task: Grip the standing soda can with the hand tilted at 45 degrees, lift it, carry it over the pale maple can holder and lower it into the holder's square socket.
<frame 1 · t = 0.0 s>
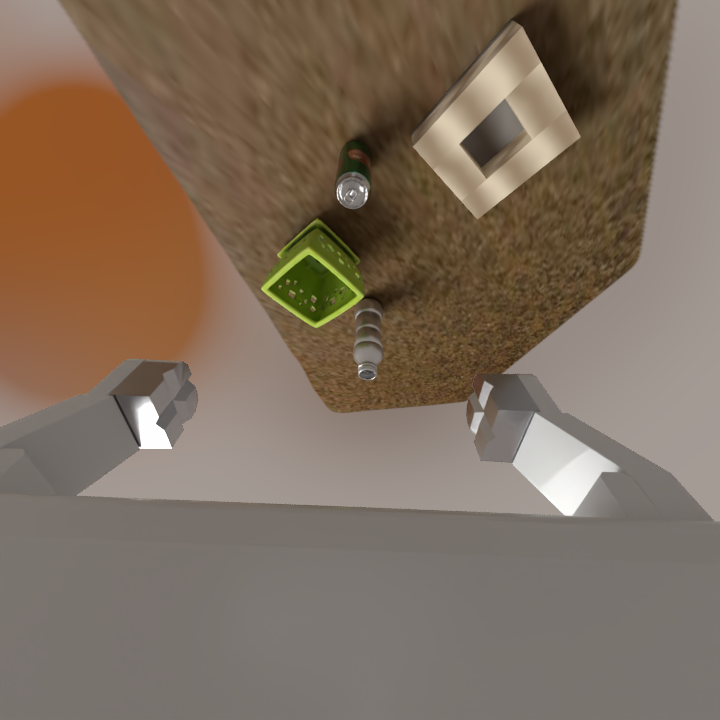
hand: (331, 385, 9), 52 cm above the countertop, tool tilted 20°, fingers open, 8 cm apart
can holder: (487, 128, 48), on the countertop
flower pot: (320, 251, 66), on the countertop
soda can: (356, 156, 52), on the countertop
plastic bottle: (369, 304, 77), on the countertop
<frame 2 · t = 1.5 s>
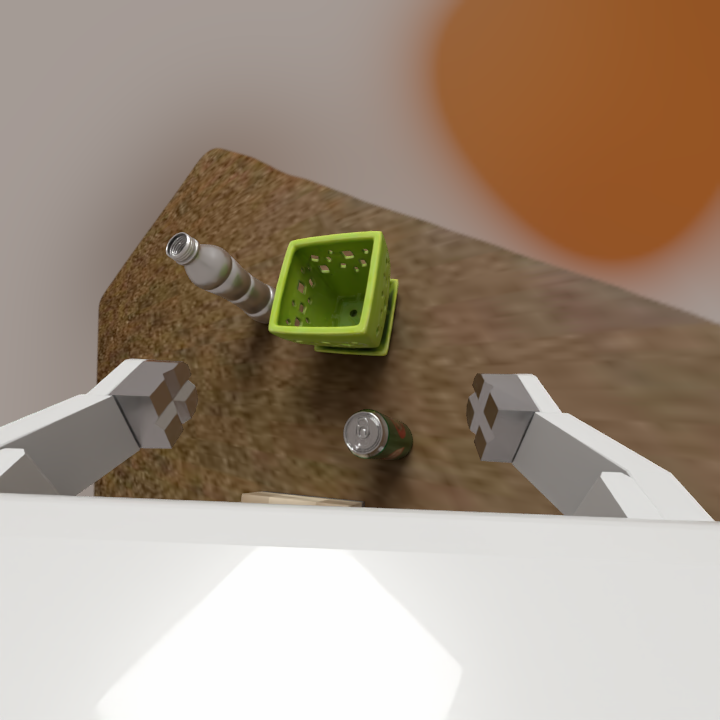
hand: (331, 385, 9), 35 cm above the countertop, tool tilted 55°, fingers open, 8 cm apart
can holder: (306, 560, 44), on the countertop
flower pot: (360, 321, 52), on the countertop
soda can: (395, 440, 44), on the countertop
plastic bottle: (274, 311, 59), on the countertop
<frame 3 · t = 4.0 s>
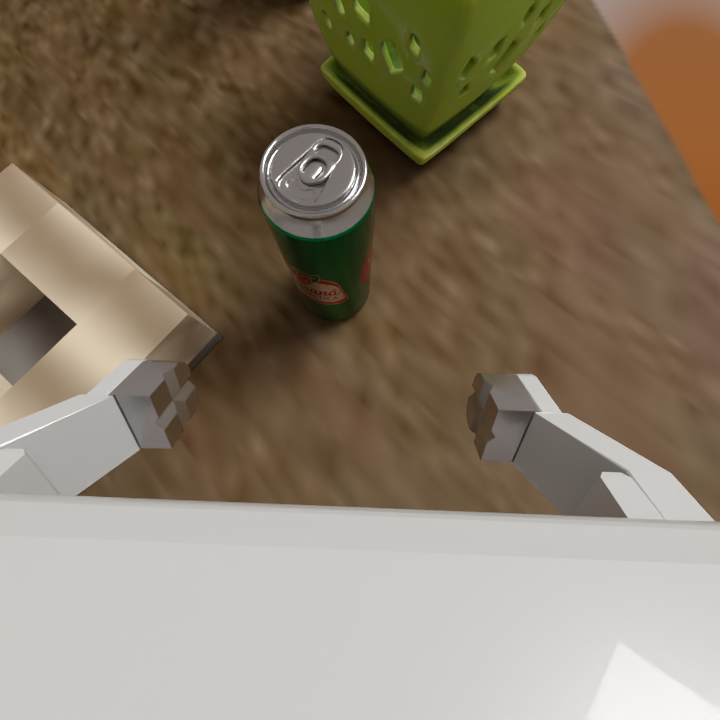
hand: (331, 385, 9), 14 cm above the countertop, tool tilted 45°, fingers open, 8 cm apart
can holder: (66, 351, 24), on the countertop
flower pot: (417, 100, 28), on the countertop
soda can: (335, 291, 25), on the countertop
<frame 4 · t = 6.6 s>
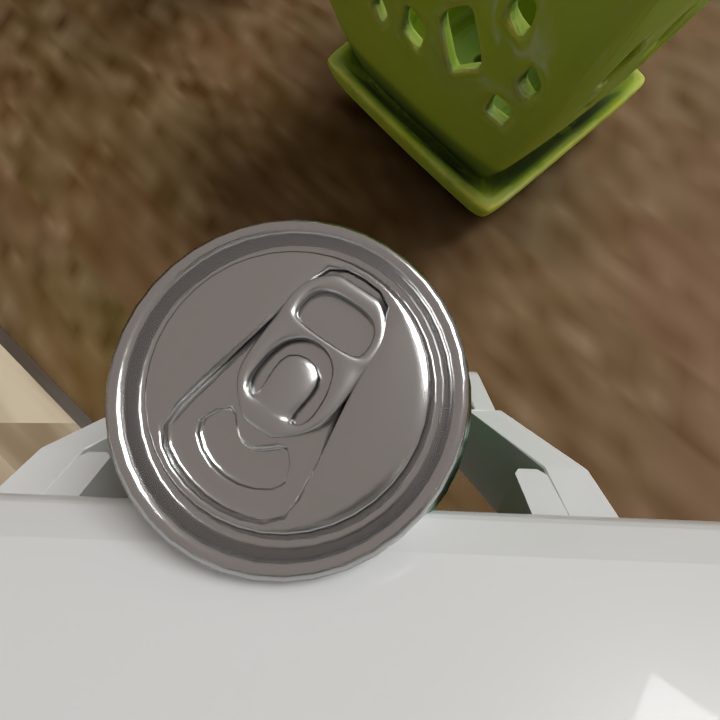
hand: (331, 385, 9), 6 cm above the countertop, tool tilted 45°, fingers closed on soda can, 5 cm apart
flower pot: (469, 113, 19), on the countertop
soda can: (341, 414, 16), on the countertop, touching gripper
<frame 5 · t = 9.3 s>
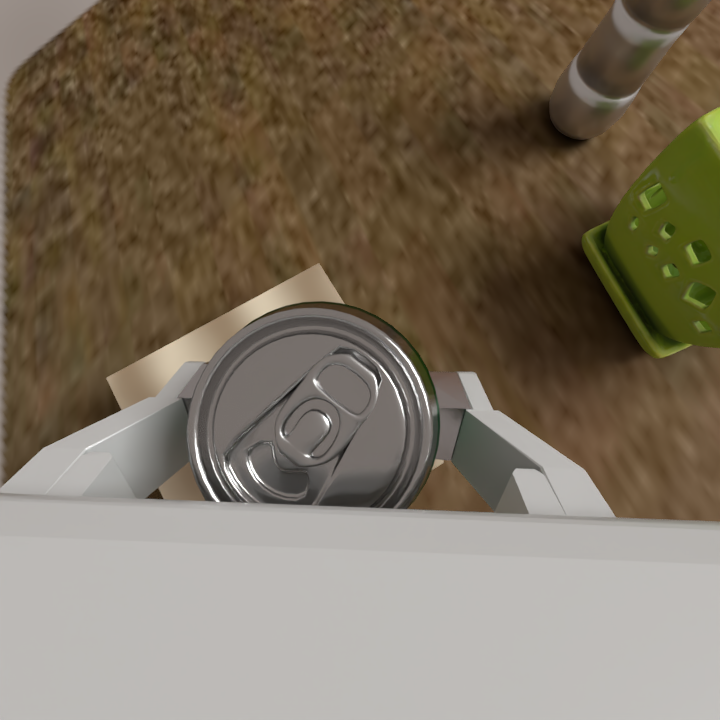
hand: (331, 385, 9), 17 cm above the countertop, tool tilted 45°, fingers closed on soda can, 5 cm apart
can holder: (287, 420, 26), on the countertop
flower pot: (651, 279, 30), on the countertop
soda can: (344, 397, 18), point 9 cm above the countertop, touching gripper
plastic bottle: (570, 123, 33), on the countertop
when the fingers open (9 cm above the countertop, at t = 11.9 s): soda can stays where it is, resting on can holder.
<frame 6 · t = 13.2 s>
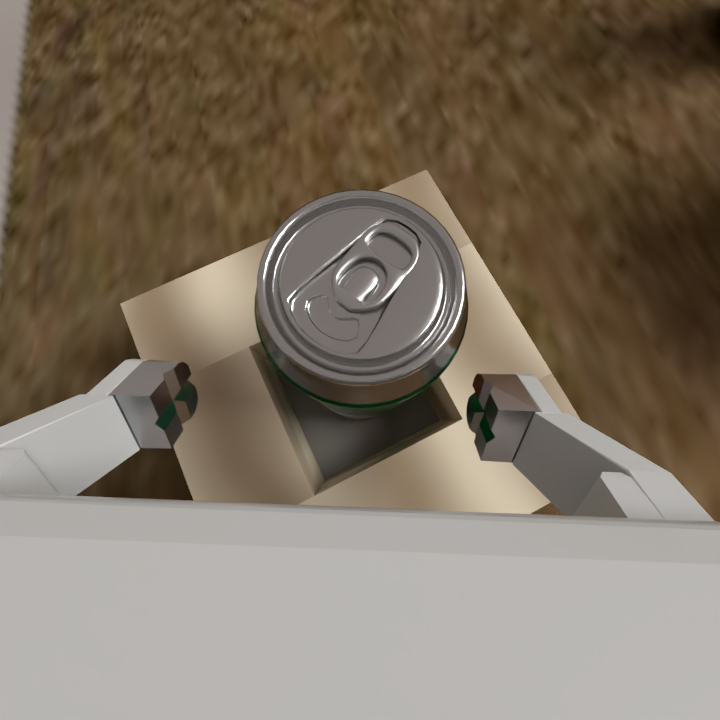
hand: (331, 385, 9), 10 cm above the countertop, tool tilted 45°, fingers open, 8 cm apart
can holder: (355, 393, 19), on the countertop
soda can: (360, 375, 19), point 1 cm above the countertop, touching can holder
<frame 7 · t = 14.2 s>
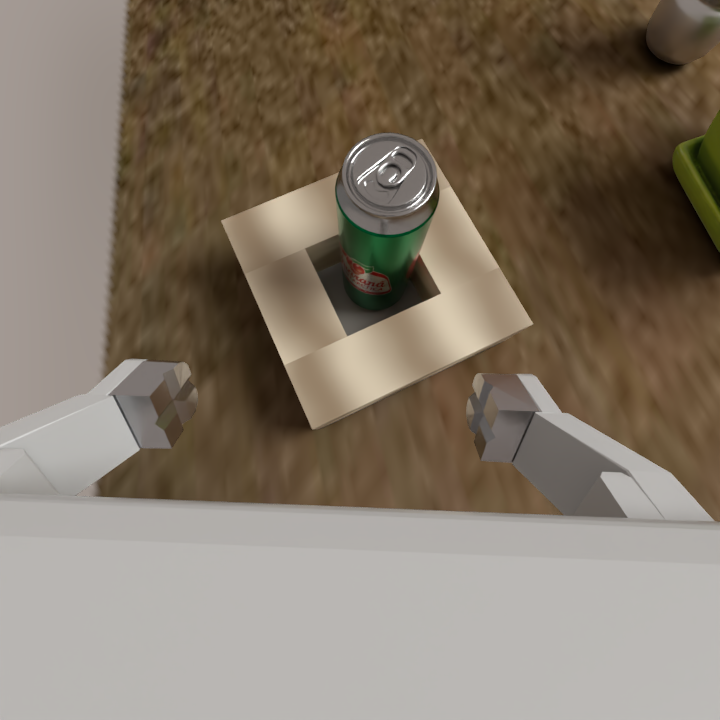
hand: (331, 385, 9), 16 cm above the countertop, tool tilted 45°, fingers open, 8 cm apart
can holder: (369, 298, 27), on the countertop
soda can: (374, 284, 27), point 1 cm above the countertop, touching can holder
plastic bottle: (665, 51, 33), on the countertop
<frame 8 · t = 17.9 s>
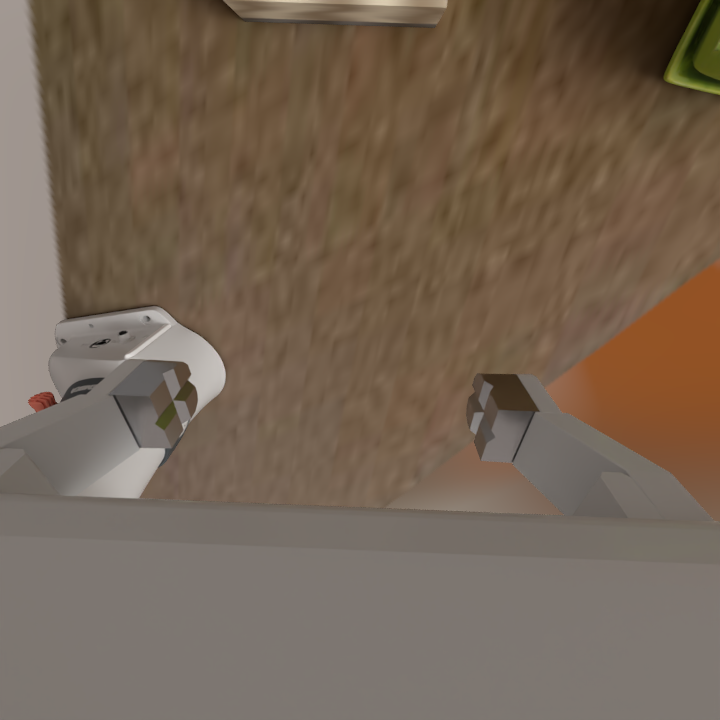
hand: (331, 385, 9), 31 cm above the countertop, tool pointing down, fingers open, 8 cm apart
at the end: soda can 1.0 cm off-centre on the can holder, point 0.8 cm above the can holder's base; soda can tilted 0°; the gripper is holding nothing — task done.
